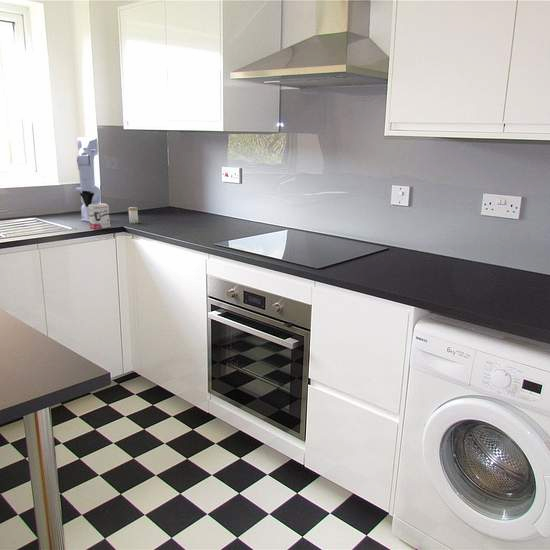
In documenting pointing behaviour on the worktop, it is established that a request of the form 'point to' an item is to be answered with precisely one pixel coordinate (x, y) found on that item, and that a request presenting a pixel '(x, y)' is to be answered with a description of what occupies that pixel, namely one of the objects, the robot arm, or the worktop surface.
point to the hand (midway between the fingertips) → (88, 206)
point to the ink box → (99, 216)
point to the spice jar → (133, 215)
